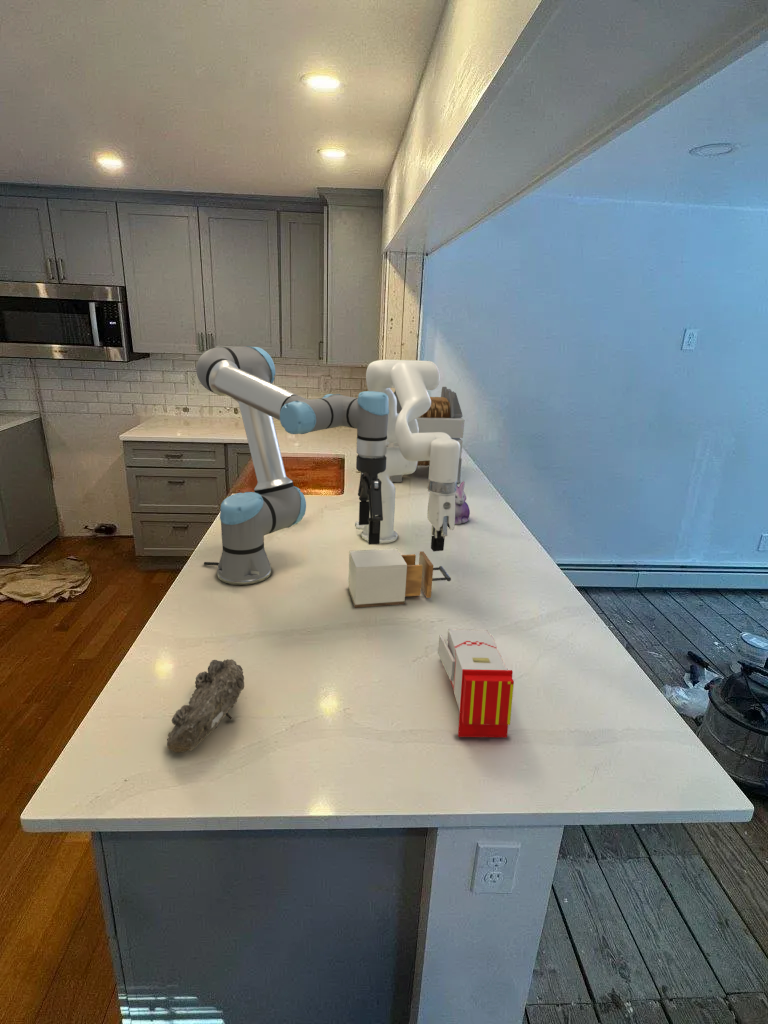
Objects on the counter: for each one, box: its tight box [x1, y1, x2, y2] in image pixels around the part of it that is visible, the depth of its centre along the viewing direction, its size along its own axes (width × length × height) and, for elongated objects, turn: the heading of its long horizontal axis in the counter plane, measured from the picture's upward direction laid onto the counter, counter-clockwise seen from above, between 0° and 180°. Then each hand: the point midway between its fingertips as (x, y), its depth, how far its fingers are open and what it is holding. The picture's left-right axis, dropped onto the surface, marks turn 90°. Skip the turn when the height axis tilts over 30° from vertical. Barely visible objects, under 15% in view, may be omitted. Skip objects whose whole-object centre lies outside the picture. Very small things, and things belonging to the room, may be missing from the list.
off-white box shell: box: [347, 548, 407, 609], centre depth 154 cm, size 14×11×12 cm
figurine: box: [454, 481, 471, 525], centre depth 212 cm, size 9×10×15 cm
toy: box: [437, 628, 515, 738], centre depth 117 cm, size 12×13×30 cm
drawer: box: [401, 550, 452, 599], centre depth 156 cm, size 18×9×10 cm, turn 103°
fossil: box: [166, 658, 245, 754], centre depth 106 cm, size 22×10×15 cm
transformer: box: [386, 386, 465, 484], centre depth 268 cm, size 34×33×41 cm
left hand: (368, 533), depth 149 cm, fingers open, 13 cm apart
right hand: (437, 549), depth 155 cm, fingers closed
